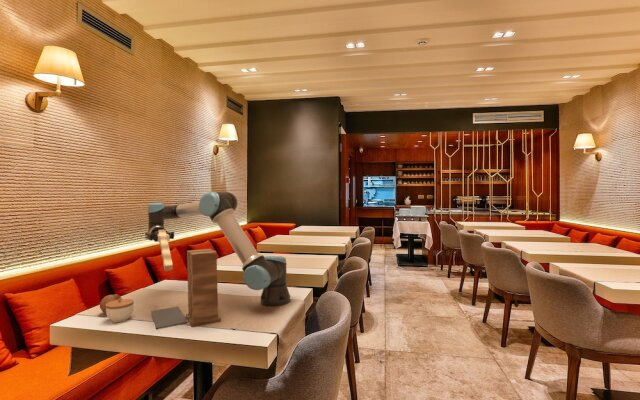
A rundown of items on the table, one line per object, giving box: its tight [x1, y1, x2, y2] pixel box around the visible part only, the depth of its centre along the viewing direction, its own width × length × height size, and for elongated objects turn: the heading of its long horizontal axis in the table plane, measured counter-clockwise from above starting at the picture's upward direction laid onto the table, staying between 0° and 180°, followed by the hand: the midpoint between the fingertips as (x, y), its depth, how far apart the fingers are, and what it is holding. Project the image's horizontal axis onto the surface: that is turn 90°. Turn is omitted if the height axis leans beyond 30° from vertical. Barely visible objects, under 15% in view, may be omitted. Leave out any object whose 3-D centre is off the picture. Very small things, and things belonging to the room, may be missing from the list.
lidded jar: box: [105, 298, 135, 323], centre depth 148 cm, size 11×11×9 cm
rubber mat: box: [150, 305, 189, 330], centre depth 150 cm, size 24×12×1 cm, turn 32°
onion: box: [99, 293, 123, 315], centre depth 156 cm, size 10×9×10 cm
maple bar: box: [158, 230, 174, 272], centre depth 150 cm, size 26×3×3 cm, turn 32°
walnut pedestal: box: [185, 248, 222, 328], centre depth 147 cm, size 14×12×30 cm
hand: (164, 238), depth 151 cm, fingers closed on maple bar, 3 cm apart
